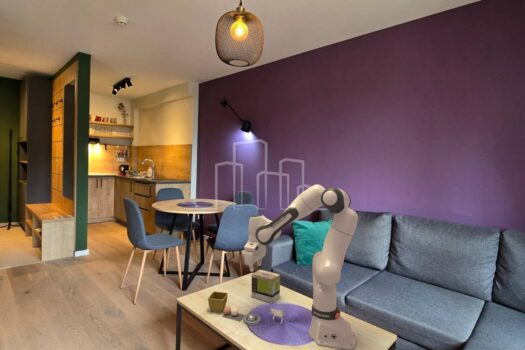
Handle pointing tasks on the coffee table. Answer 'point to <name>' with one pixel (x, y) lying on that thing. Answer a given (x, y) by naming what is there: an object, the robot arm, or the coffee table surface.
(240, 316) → the parts mat
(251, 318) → the steel ball
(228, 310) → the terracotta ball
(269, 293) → the tea box
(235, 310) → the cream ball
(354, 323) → the coffee table surface
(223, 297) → the flower pot
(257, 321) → the race ring
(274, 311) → the origami figure
